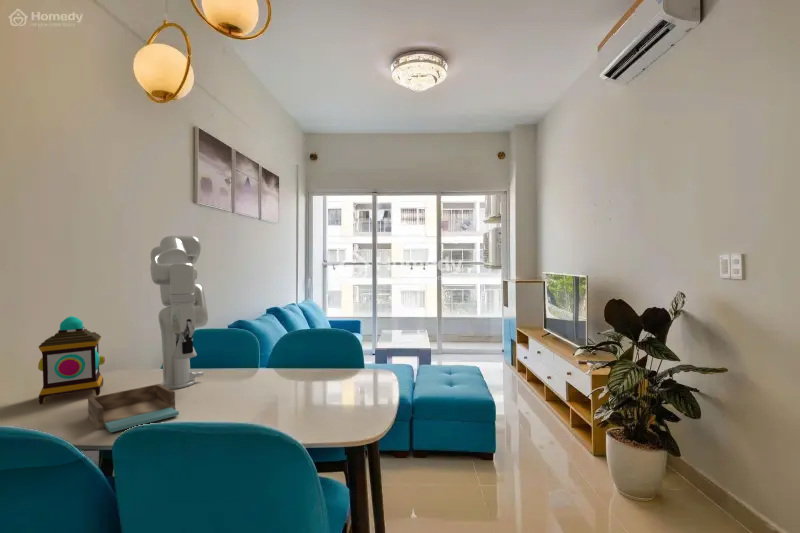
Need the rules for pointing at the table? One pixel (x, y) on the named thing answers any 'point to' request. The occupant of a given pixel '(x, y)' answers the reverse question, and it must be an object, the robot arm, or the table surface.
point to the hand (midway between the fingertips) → (184, 351)
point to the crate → (129, 404)
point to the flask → (178, 350)
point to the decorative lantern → (70, 360)
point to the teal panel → (141, 419)
